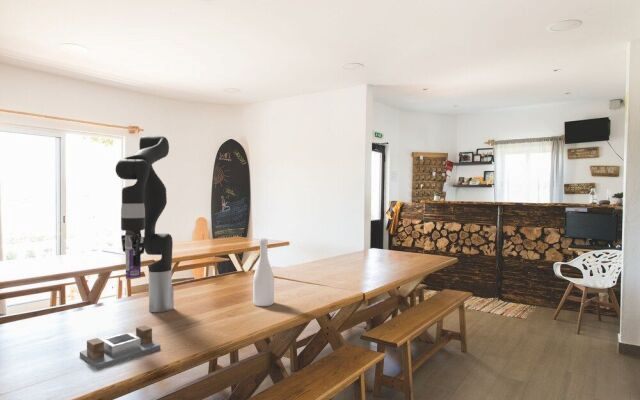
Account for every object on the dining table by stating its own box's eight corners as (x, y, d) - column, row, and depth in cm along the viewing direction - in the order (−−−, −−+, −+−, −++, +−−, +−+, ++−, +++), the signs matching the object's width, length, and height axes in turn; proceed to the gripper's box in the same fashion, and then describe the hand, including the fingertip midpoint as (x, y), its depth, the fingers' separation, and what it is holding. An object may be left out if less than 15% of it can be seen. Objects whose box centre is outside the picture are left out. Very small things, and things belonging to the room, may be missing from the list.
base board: (140, 338, 136) (140, 334, 136) (160, 349, 127) (160, 344, 127) (79, 356, 121) (79, 351, 121) (97, 369, 112) (97, 364, 112)
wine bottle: (249, 305, 176) (248, 239, 176) (261, 299, 185) (261, 237, 184) (266, 308, 172) (265, 240, 171) (278, 302, 180) (278, 238, 180)
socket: (128, 340, 130) (128, 332, 130) (140, 347, 125) (140, 338, 124) (101, 348, 123) (100, 339, 123) (112, 356, 118) (112, 346, 118)
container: (142, 276, 138) (142, 234, 138) (137, 278, 133) (137, 235, 133) (129, 276, 138) (129, 234, 138) (123, 278, 133) (123, 235, 133)
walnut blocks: (145, 338, 132) (144, 325, 132) (152, 341, 129) (152, 328, 129) (86, 355, 119) (86, 340, 119) (93, 359, 115) (93, 344, 115)
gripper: (153, 216, 134) (153, 266, 134) (134, 215, 143) (134, 261, 143) (131, 217, 128) (131, 269, 128) (113, 216, 137) (113, 264, 137)
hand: (133, 265), depth 136 cm, fingers closed on container, 4 cm apart
